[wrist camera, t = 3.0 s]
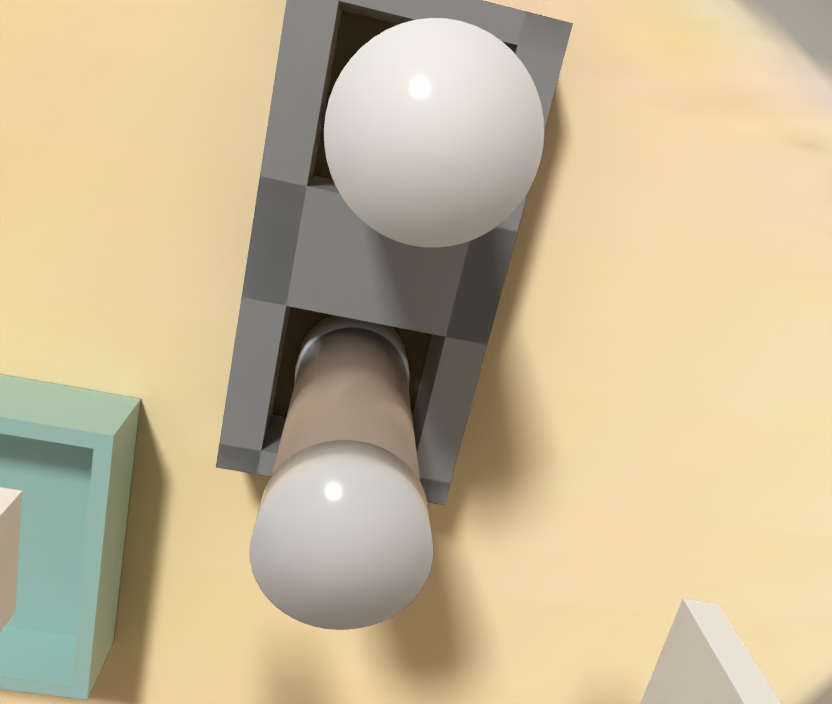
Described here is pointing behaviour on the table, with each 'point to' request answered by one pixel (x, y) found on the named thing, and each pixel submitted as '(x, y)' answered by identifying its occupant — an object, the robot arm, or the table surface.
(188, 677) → the table surface
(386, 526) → the fuse
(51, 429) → the parts tray
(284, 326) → the block
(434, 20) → the white rounded cylinder
